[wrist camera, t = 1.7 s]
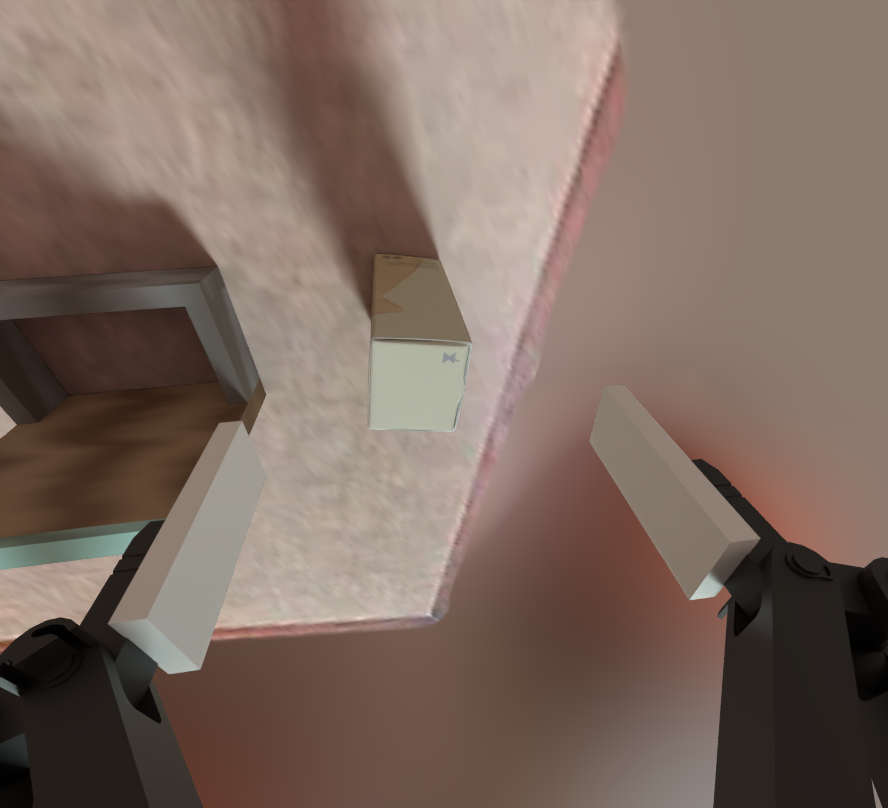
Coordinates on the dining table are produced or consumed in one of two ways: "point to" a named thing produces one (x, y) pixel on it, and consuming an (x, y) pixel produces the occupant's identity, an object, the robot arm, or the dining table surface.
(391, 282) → the box
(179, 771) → the robot arm
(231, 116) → the dining table surface
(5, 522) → the cleat board
